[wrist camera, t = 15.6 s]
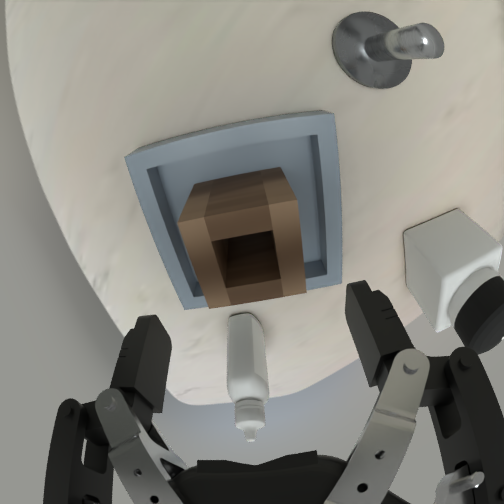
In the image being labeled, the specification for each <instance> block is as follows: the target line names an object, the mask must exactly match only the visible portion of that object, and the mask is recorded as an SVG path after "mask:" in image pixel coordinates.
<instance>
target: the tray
mask: <svg viewBox="0 0 504 504" xmlns="http://www.w3.org/2000/svg"><path fill="white" fill-rule="evenodd" d="M124 158H125V161H126V164H127V167H128V170H129V173H130V176H131V179H132V182H133V185H134V188H135V191H136V194H137V196H138V199H139V202H140V205H141V208H142V210H143V213H144V216H145V218H146V221H147V224H148V226H149V229H150V231H151V234H152V236H153V239H154V241H155V244H156V246H157V249H158V251H159V254H160V256H161V258H162V261H163V263H164V265H165V268H166V270H167V272H168V275H169V277H170V279H171V282H172V284H173V286H174V288H175V290H176V293H177V295H178V297H179V299H180V301H181V303H182V306H183V308H184V310H188V309H195V308H202V307H208V304H207V302H206V299H205V297H204V294H203V292H202V289H201V287H200V284H199V282H198V279H197V276H196V274H195V271H194V268H193V266H192V263H191V260H190V258H189V255H188V252H187V249H186V247H185V244H184V241H183V238H182V235H181V233H180V230H179V227H178V224H177V222H178V220H179V218H180V215H181V213H182V211H183V208H184V206H185V204H186V201H187V199H188V197H189V195H190V192H191V190H192V188H193V186H194V184H196V183H200V182H205V181H209V180H214V179H219V178H223V177H228V176H233V175H238V174H243V173H248V172H254V171H259V170H265V169H270V168H276V167H281V169H282V171H283V173H284V175H285V177H286V179H287V181H288V183H289V184H290V186H291V188H292V190H293V192H294V194H295V196H296V198H297V202H298V210H299V219H300V228H301V237H302V247H303V257H304V268H305V279H306V290H311V289H316V288H322V287H327V286H332V285H337V284H341V283H342V208H341V186H340V170H339V157H338V145H337V135H336V126H335V117H334V113H330V112H326V111H322V110H321V111H310V112H301V113H293V114H285V115H278V116H271V117H265V118H259V119H253V120H247V121H242V122H237V123H232V124H227V125H222V126H218V127H213V128H209V129H205V130H200V131H196V132H192V133H188V134H185V135H181V136H177V137H174V138H170V139H167V140H163V141H160V142H157V143H153V144H150V145H147V146H144V147H141V148H138V149H136V150H135V151H133V152H132V153H130V154H128V155H127V156H125V157H124Z"/></svg>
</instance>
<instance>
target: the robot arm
mask: <svg viewBox="0 0 504 504" xmlns="http://www.w3.org/2000/svg"><path fill="white" fill-rule="evenodd" d="M345 315H346V320H347V324H348V326H349V329H350V332H351V335H352V337H353V340H354V343H355V346H356V348H357V351H358V354H359V357H360V360H361V363H362V366H363V369H364V372H365V375H366V378H367V381H368V384H369V387H373V386H376V385H378V388H379V391H380V393H379V396H378V398H377V400H376V403H375V405H374V407H373V409H372V412H371V414H370V416H369V418H368V421H367V423H366V425H365V427H364V429H363V431H362V433H361V435H360V437H359V439H358V440H357V442H356V444H355V446H354V448H353V450H352V452H351V453H350V455H349V457H348V459H347V461H344V460H342V459H339V458H336V457H332V456H327V455H317V451H316V450H315V451H310V452H304V453H298V454H291V455H286V456H283V457H280V458H277V459H274V460H272V461H269V462H266V463H263V464H259V465H249V464H242V463H237V462H232V461H227V460H198V461H197V466H194V467H191V468H189V467H188V466H187V465H186V463H185V462H184V461H183V460H182V459H181V458H180V457H179V456H178V455H176V454H175V452H174V451H173V450H172V448H171V447H170V445H169V444H168V442H167V441H166V439H165V438H164V436H163V435H162V434H161V432H160V430H159V429H158V427H157V425H156V424H155V422H154V421H153V420H152V415H153V413H162V409H163V402H164V395H165V388H166V381H167V375H168V368H169V362H170V356H171V350H172V344H171V339H170V336H169V335H168V333H167V331H166V330H165V328H164V326H163V325H162V323H161V321H160V320H159V318H158V317H157V315H147V316H139V317H138V319H137V322H136V325H135V328H134V329H130V331H129V332H128V333H127V335H126V336H125V338H124V340H123V343H122V347H121V350H120V353H119V358H118V360H117V363H116V367H115V370H114V374H113V377H112V381H111V385H110V388H109V389H106V390H104V391H102V392H101V393H100V394H99V396H98V397H97V399H96V401H92V402H89V403H85V404H80V403H79V402H78V401H76V400H75V399H67V400H65V401H64V402H62V403H61V405H60V406H59V409H58V412H57V416H56V420H55V425H54V430H53V434H52V439H51V444H50V450H49V456H48V463H47V470H46V477H45V487H44V498H43V504H112V486H113V470H114V469H115V470H116V472H117V474H118V476H119V478H120V480H121V482H122V484H123V485H124V487H125V489H126V491H127V492H128V494H129V496H130V497H131V499H132V501H133V502H134V504H410V503H408V502H407V501H405V500H403V499H402V498H400V497H399V496H397V495H395V494H394V493H392V492H391V491H389V490H388V489H389V488H390V486H391V483H392V482H393V480H394V478H395V476H396V474H397V471H398V469H399V467H400V465H401V463H402V460H403V458H404V456H405V453H406V451H407V448H408V446H409V443H410V441H411V439H412V436H413V433H414V430H415V427H416V421H415V417H416V414H417V411H418V408H419V407H426V406H428V408H429V411H430V414H431V418H432V421H433V425H434V428H435V432H436V436H437V440H438V444H439V448H440V452H441V456H442V461H443V466H444V470H445V476H444V477H443V478H442V479H441V480H440V482H439V483H438V485H437V488H436V498H435V502H434V504H504V418H503V415H502V411H501V409H500V406H499V403H498V401H497V398H496V395H495V393H494V390H493V388H492V386H491V383H490V381H489V378H488V376H487V374H486V371H485V369H484V367H483V365H482V363H481V361H480V359H479V357H478V355H477V353H476V352H475V351H474V350H472V349H470V348H468V347H459V348H457V349H455V350H454V351H453V352H452V354H451V355H450V356H442V357H430V356H426V355H425V354H424V353H423V352H421V351H419V350H416V349H415V347H414V346H413V344H412V343H411V340H410V338H409V336H408V334H407V332H406V330H405V328H404V326H403V324H402V322H401V320H400V319H399V317H398V315H397V313H396V311H395V309H393V305H392V304H391V302H390V300H389V298H388V297H387V296H386V295H384V294H383V293H382V292H381V291H380V290H376V291H371V289H370V287H369V285H368V283H367V282H366V281H365V280H363V281H358V282H354V283H349V284H347V288H346V304H345ZM84 439H86V440H87V443H86V451H85V458H84V465H83V464H82V461H81V456H82V449H83V442H84ZM113 468H114V469H113Z"/></svg>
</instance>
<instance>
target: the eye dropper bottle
mask: <svg viewBox="0 0 504 504" xmlns="http://www.w3.org/2000/svg"><path fill="white" fill-rule="evenodd" d="M227 390H228V394H229V396H230V398H231V400H232V401H233V402H234V403H235V426H236V427H237V428H239V429H241V430H243V431H244V433H245V437H246V441H247V442H254V441H255V440H256V434H257V430H258V429H260V428H263V427H264V426H265V412H264V405H265V404H266V402H267V401H268V398H269V383H268V373H267V362H266V351H265V341H264V332H263V329H262V326H261V324H260V323H259V321H258V320H257V319H256V318H255V317H254V316H253V315H252V314H250V313H245V314H240V315H234V316H231V317H230V318H229V321H228V338H227Z"/></svg>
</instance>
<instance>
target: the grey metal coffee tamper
mask: <svg viewBox="0 0 504 504" xmlns="http://www.w3.org/2000/svg"><path fill="white" fill-rule="evenodd" d="M332 46H333V51H334V55H335V57H336V60H337V61H338V63H339V65H340V66H341V68H342V69H343V70H344V72H345V73H346V74H347V75H348V76H349V77H351V78H352V79H353V80H355V81H356V82H358V83H360V84H362V85H364V86H367V87H372V88H391V87H394V86H397V85H399V84H400V83H401V82H403V81H404V80H405V79H406V77H407V76H408V74H409V72H410V69H411V64H412V59H429V58H439V57H441V56H442V54H443V52H444V42H443V39H442V37H441V35H440V33H439V32H438V31H437V30H436V29H435V28H434V27H433V26H432V25H430V24H427V23H420V24H415V25H411V26H406V27H402V28H398V26H397V25H395V24H394V23H393V22H392V21H390V20H389V19H387V18H386V17H384V16H382V15H379V14H376V13H373V12H357V13H354V14H351V15H349V16H348V17H346V18H344V19H343V20H342V21H340V22H339V24H338V25H337V26H336V28H335V30H334V33H333V38H332Z"/></svg>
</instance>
